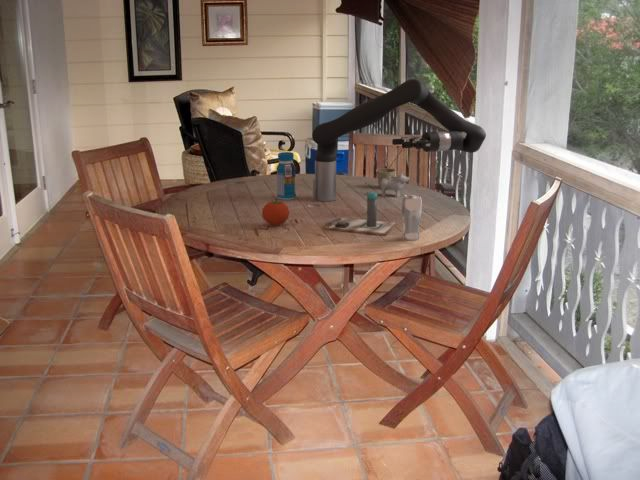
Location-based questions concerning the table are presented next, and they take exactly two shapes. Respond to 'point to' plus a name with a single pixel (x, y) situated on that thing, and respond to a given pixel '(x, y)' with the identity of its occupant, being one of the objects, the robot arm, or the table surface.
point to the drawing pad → (360, 226)
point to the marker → (371, 209)
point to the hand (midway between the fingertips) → (397, 143)
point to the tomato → (275, 213)
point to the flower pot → (384, 174)
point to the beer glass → (411, 216)
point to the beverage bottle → (286, 176)
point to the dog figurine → (394, 184)
